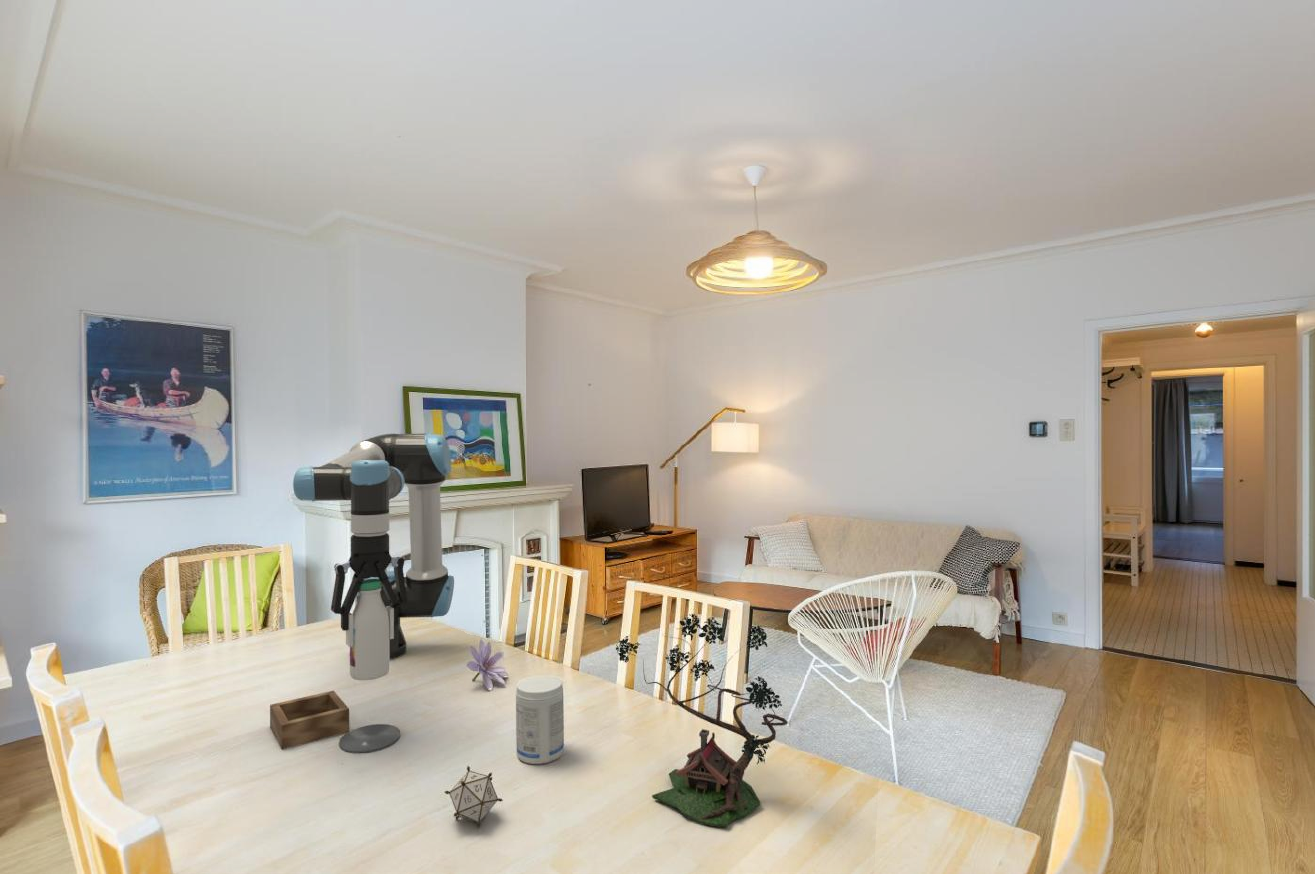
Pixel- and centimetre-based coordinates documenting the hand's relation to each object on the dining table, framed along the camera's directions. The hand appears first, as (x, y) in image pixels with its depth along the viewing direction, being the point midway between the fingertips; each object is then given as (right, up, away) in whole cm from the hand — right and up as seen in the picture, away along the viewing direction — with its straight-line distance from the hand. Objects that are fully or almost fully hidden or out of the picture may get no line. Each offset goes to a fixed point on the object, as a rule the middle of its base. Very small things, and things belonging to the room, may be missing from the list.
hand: (370, 640), depth 143 cm
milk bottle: (0, -7, 0) cm, 7 cm away
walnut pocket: (-15, -21, +5) cm, 26 cm away
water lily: (+17, -21, +32) cm, 42 cm away
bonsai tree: (+68, -22, -16) cm, 73 cm away
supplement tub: (+37, -22, -5) cm, 43 cm away
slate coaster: (0, -21, 0) cm, 21 cm away
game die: (+30, -22, -28) cm, 46 cm away
